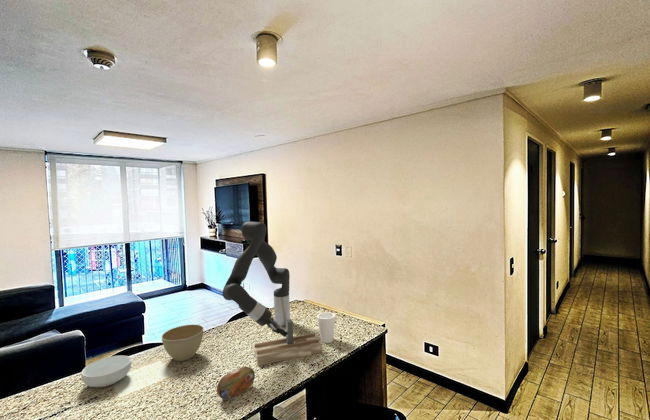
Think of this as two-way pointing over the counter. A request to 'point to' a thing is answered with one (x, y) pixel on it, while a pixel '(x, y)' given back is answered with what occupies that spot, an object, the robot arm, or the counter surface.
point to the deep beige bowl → (182, 341)
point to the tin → (235, 383)
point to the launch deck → (286, 349)
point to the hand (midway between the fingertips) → (286, 334)
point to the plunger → (289, 332)
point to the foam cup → (326, 326)
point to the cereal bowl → (106, 371)
